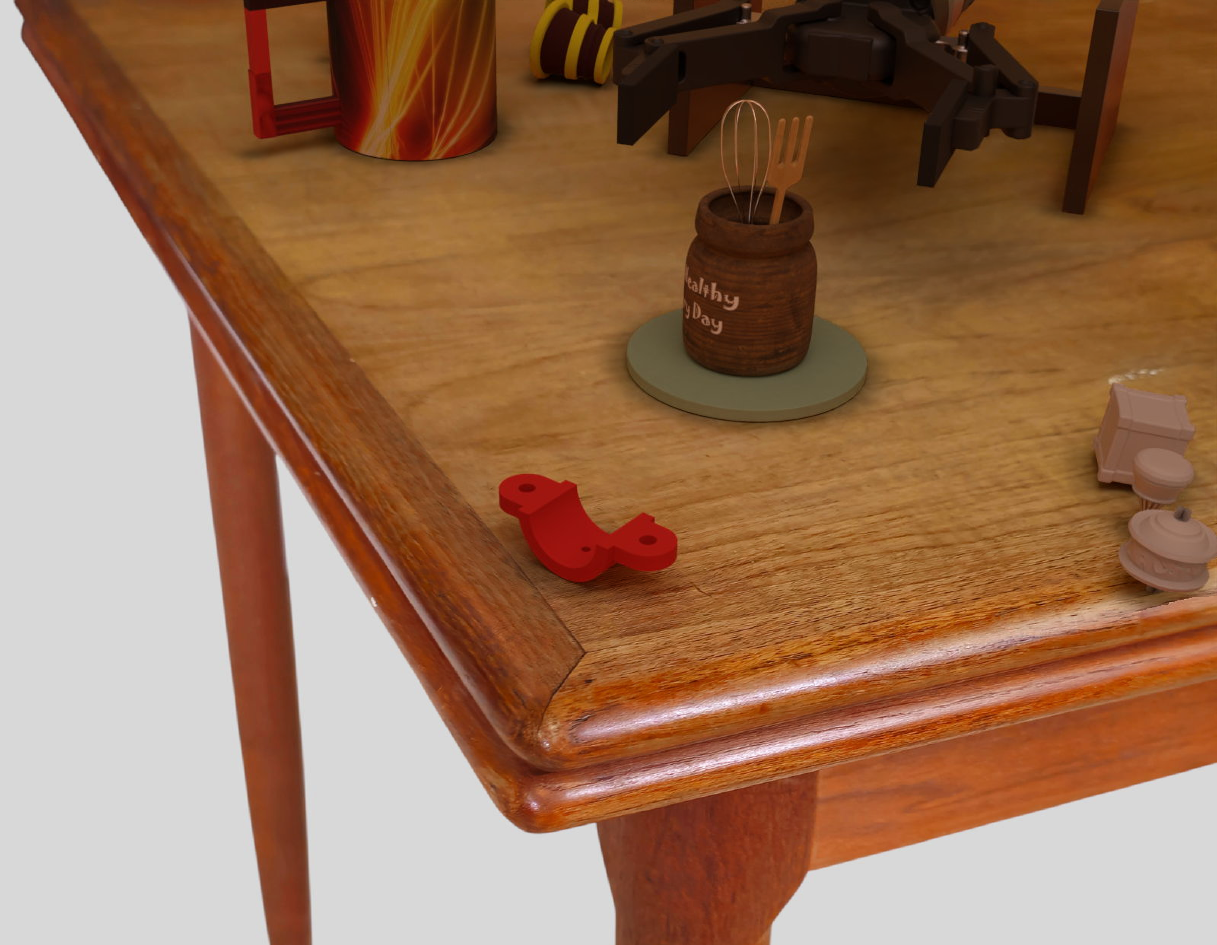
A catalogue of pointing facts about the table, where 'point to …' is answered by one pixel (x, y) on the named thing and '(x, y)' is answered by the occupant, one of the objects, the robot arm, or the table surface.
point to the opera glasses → (575, 39)
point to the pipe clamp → (581, 531)
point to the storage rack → (1054, 106)
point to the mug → (390, 77)
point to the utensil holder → (753, 268)
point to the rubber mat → (788, 395)
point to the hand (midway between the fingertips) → (773, 135)
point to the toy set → (1155, 488)
